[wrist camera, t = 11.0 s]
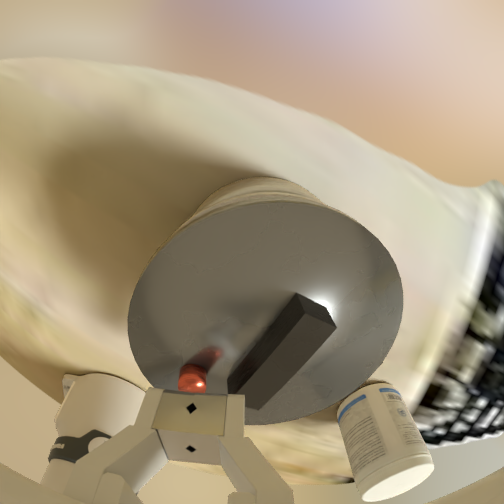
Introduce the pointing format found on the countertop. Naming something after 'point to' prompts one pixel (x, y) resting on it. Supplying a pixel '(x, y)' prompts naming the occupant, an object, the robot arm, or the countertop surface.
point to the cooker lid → (267, 307)
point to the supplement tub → (382, 443)
